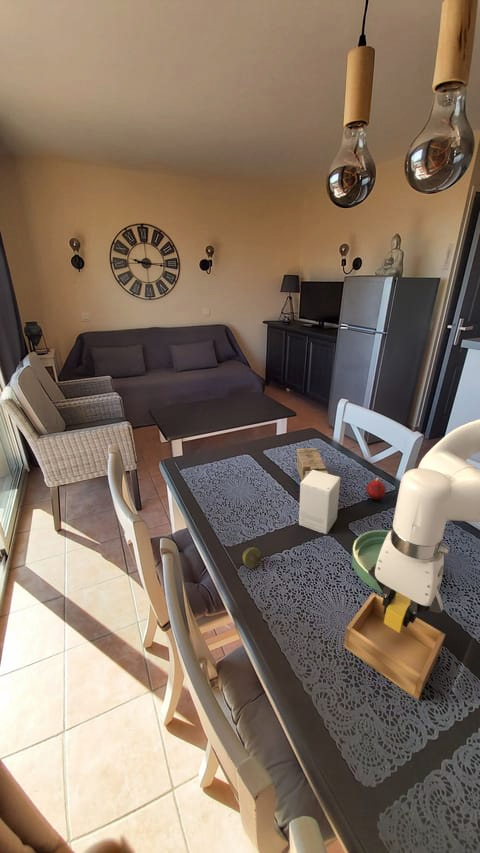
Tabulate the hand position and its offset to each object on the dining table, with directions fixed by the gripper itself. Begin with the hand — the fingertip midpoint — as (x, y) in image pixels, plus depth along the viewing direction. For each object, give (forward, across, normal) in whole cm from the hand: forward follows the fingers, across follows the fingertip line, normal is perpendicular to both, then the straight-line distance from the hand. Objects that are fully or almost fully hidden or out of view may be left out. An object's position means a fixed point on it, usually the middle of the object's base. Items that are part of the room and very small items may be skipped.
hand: (397, 614), depth 68 cm
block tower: (+10, +44, -39) cm, 59 cm away
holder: (+10, 0, 0) cm, 10 cm away
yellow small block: (+1, 0, 0) cm, 1 cm away
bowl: (+10, +9, -21) cm, 25 cm away
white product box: (+10, +32, -24) cm, 42 cm away
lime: (+11, +36, +2) cm, 37 cm away
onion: (+10, +25, -46) cm, 53 cm away
